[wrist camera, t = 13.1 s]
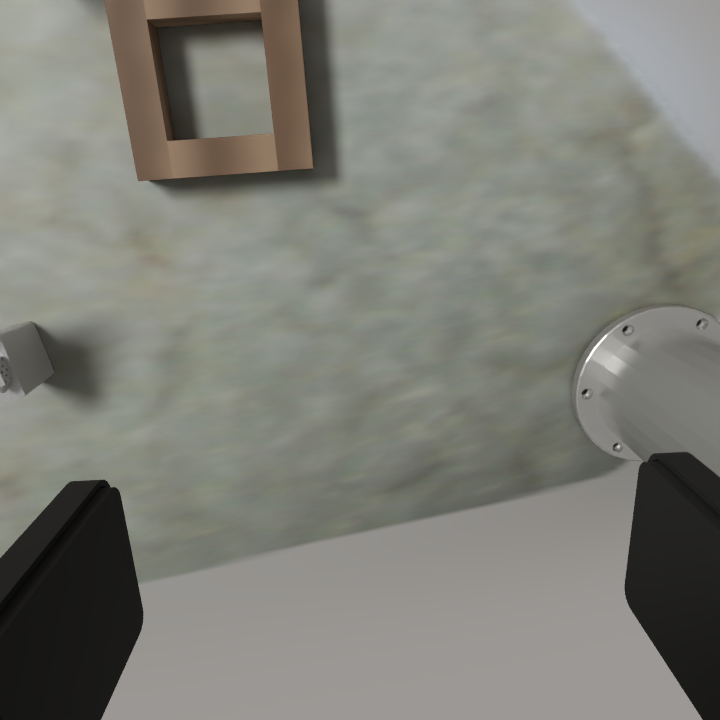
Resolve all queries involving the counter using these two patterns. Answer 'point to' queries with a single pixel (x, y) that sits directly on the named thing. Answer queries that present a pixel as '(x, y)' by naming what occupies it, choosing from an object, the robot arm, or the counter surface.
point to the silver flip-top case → (22, 361)
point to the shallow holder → (150, 99)
